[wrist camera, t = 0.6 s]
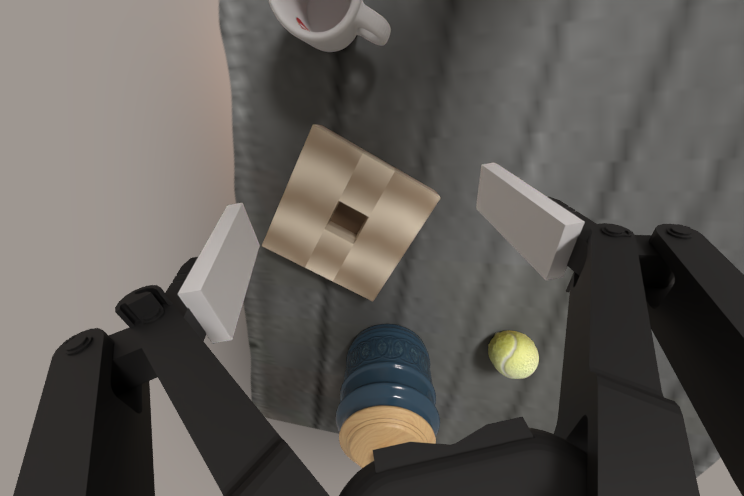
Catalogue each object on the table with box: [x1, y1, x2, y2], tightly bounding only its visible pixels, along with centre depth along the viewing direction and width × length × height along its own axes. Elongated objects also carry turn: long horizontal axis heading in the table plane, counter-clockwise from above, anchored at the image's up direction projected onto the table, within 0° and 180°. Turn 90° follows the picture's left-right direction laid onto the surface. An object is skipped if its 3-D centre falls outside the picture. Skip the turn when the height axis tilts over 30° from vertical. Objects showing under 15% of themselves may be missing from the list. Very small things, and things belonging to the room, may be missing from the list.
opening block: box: [262, 124, 440, 301], centre depth 36 cm, size 16×16×4 cm
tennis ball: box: [488, 330, 539, 379], centre depth 41 cm, size 6×7×7 cm
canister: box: [336, 324, 440, 468], centre depth 38 cm, size 13×13×18 cm
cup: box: [268, 0, 391, 52], centre depth 26 cm, size 11×8×8 cm
